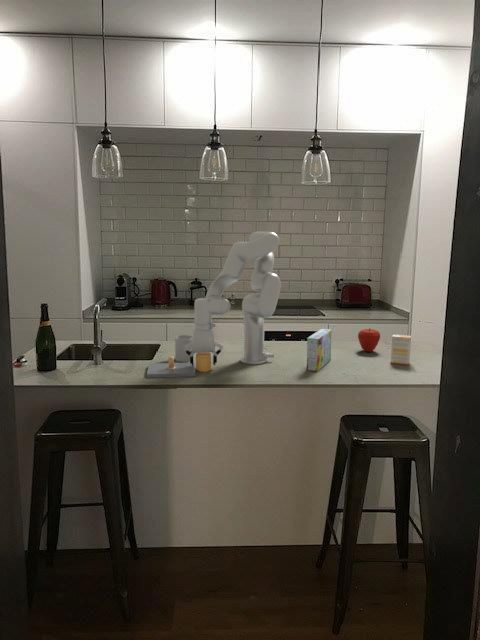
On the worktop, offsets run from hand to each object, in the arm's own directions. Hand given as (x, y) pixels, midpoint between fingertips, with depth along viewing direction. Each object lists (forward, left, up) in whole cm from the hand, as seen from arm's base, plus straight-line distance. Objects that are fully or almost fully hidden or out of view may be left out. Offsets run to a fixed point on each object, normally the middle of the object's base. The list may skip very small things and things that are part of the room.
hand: (203, 364), depth 220 cm
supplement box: (-92, -2, -2) cm, 92 cm away
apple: (-85, -24, -2) cm, 88 cm away
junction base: (+14, +2, -2) cm, 14 cm away
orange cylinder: (0, 0, -2) cm, 2 cm away
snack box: (-53, -2, -2) cm, 53 cm away
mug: (+8, -18, -2) cm, 20 cm away
